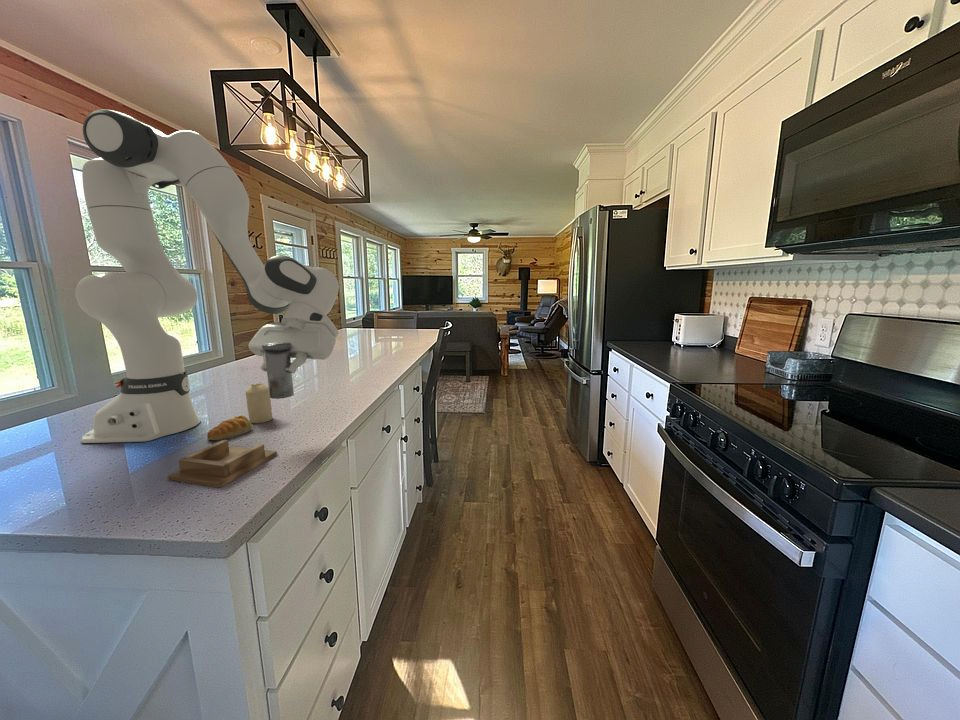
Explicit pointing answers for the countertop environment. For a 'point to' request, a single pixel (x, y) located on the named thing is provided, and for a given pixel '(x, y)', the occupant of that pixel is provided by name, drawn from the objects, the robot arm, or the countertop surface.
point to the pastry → (230, 428)
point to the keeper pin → (278, 369)
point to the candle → (258, 403)
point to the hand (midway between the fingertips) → (277, 371)
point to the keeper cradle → (220, 464)
